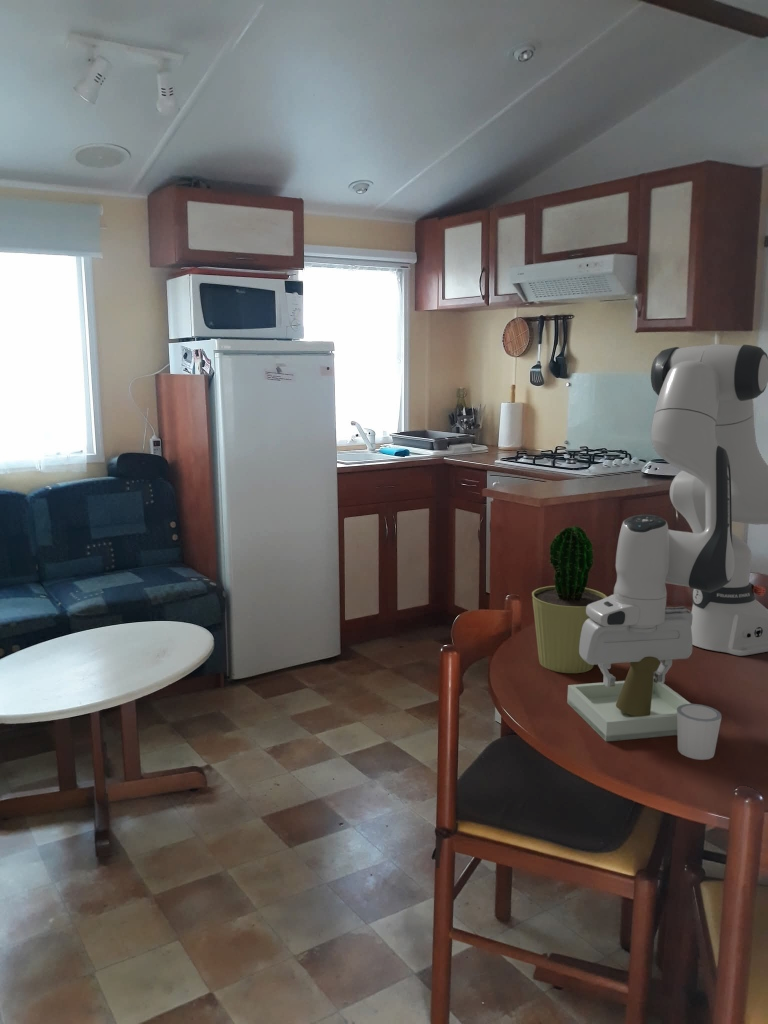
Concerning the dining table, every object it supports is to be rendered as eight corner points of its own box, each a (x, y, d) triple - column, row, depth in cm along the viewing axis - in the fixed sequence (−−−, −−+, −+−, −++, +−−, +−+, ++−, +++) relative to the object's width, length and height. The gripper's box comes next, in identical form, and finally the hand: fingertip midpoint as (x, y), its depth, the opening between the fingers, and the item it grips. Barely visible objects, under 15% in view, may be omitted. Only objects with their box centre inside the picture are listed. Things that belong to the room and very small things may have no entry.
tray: (655, 695, 159) (656, 678, 158) (702, 732, 144) (704, 713, 143) (567, 702, 156) (568, 685, 155) (605, 741, 140) (606, 722, 140)
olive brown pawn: (645, 706, 152) (659, 649, 150) (653, 719, 146) (667, 660, 144) (612, 699, 152) (625, 643, 151) (619, 712, 146) (633, 653, 145)
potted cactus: (578, 647, 185) (584, 514, 179) (618, 671, 171) (627, 528, 165) (516, 654, 180) (521, 518, 174) (552, 681, 166) (559, 533, 160)
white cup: (727, 757, 135) (731, 717, 134) (692, 764, 133) (696, 723, 131) (698, 739, 141) (701, 700, 140) (664, 745, 139) (667, 706, 138)
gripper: (683, 601, 151) (677, 673, 153) (577, 606, 147) (573, 680, 149) (703, 611, 145) (696, 686, 147) (593, 617, 141) (588, 694, 143)
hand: (633, 683), depth 148 cm, fingers open, 8 cm apart
